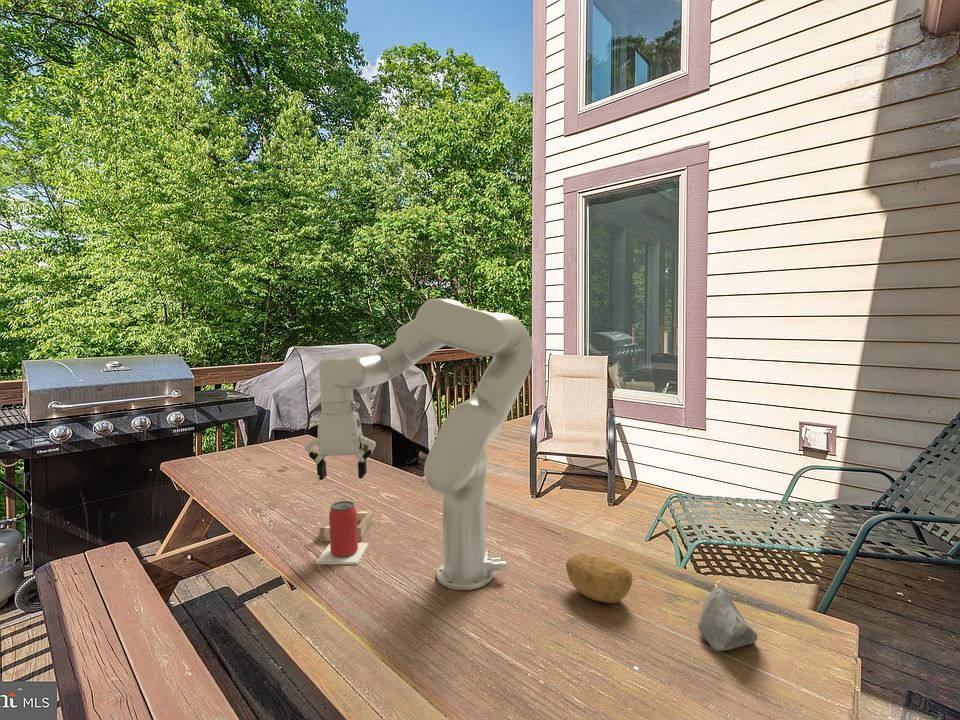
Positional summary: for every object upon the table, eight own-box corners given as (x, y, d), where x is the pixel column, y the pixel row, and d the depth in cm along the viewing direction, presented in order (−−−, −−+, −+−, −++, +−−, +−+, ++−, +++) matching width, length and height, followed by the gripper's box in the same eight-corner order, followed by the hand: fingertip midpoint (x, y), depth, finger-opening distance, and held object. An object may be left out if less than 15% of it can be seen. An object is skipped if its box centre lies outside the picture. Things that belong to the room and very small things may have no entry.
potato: (580, 575, 108) (580, 541, 107) (640, 599, 98) (641, 561, 98) (555, 594, 101) (555, 557, 100) (618, 621, 91) (618, 581, 90)
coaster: (368, 545, 124) (368, 542, 124) (357, 564, 114) (357, 561, 114) (330, 545, 125) (330, 542, 125) (315, 564, 115) (315, 561, 115)
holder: (372, 523, 138) (372, 511, 138) (361, 540, 127) (361, 527, 127) (334, 523, 138) (334, 511, 138) (320, 540, 127) (320, 527, 127)
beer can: (350, 559, 116) (348, 510, 115) (325, 557, 117) (323, 509, 116) (362, 547, 122) (361, 500, 121) (338, 545, 123) (336, 499, 122)
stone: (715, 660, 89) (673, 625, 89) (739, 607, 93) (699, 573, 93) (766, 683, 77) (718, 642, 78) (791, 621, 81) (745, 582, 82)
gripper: (377, 404, 120) (381, 471, 121) (308, 407, 121) (313, 474, 122) (369, 409, 113) (373, 481, 114) (296, 412, 113) (301, 483, 115)
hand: (342, 477), depth 118 cm, fingers open, 9 cm apart
